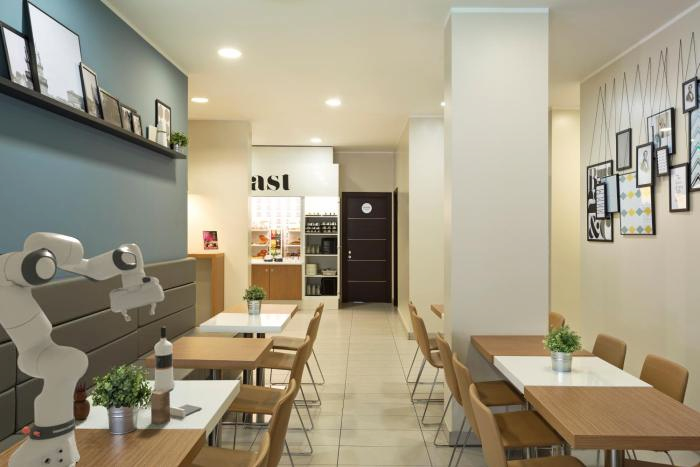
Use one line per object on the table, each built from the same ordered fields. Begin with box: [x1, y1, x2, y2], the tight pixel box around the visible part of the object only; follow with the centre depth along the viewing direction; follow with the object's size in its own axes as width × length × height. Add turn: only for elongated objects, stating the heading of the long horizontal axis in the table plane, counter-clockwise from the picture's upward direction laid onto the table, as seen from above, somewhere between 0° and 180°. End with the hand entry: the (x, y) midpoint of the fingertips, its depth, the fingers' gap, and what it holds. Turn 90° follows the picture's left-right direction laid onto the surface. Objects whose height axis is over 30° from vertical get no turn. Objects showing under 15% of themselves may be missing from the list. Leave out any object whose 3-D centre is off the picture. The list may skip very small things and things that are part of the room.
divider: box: [170, 405, 186, 419], centre depth 209 cm, size 1×12×3 cm, turn 61°
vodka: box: [153, 326, 176, 391], centre depth 243 cm, size 9×9×30 cm
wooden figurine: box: [73, 381, 91, 421], centre depth 206 cm, size 7×6×15 cm
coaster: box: [178, 403, 202, 417], centre depth 213 cm, size 9×9×1 cm
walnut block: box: [150, 389, 171, 426], centre depth 202 cm, size 5×5×12 cm
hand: (140, 317), depth 199 cm, fingers open, 8 cm apart
